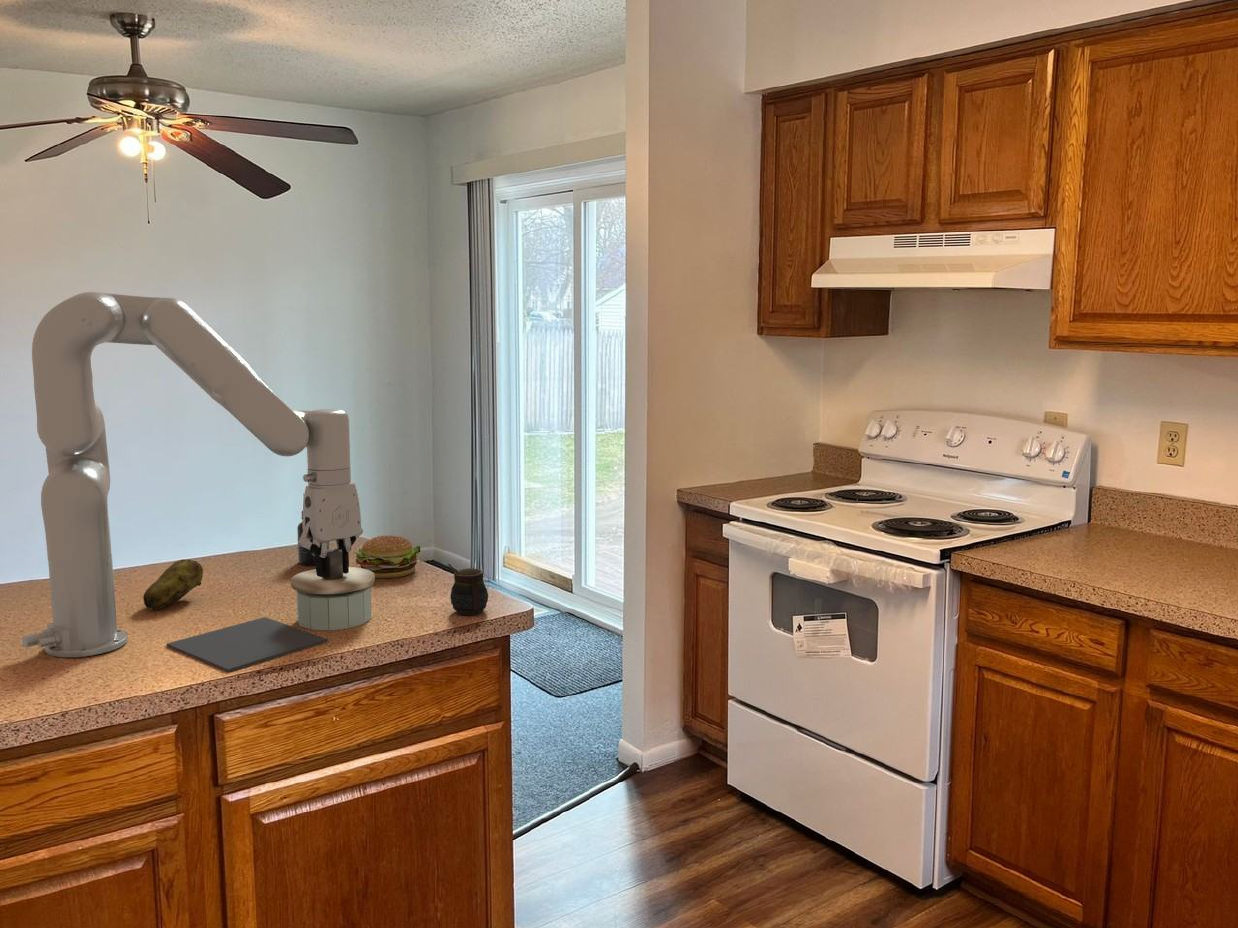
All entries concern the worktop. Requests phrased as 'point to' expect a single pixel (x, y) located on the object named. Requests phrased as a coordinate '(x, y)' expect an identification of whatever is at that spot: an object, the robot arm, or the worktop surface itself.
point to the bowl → (334, 609)
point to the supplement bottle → (305, 550)
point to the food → (388, 556)
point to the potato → (173, 584)
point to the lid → (333, 578)
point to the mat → (246, 643)
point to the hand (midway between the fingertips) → (332, 573)
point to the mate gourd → (468, 591)
